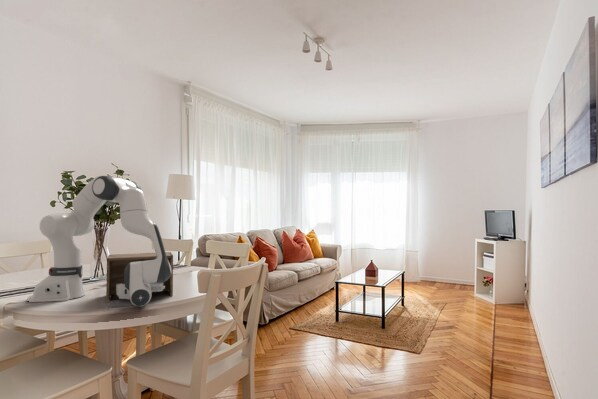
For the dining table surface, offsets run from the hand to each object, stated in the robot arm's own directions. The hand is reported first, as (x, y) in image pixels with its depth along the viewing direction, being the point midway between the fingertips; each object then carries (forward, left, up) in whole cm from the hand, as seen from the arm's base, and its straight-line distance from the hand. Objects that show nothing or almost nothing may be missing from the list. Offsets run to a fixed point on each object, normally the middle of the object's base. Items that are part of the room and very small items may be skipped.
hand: (140, 284), depth 180 cm
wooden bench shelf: (0, 0, -5) cm, 5 cm away
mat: (-7, -14, -5) cm, 16 cm away
